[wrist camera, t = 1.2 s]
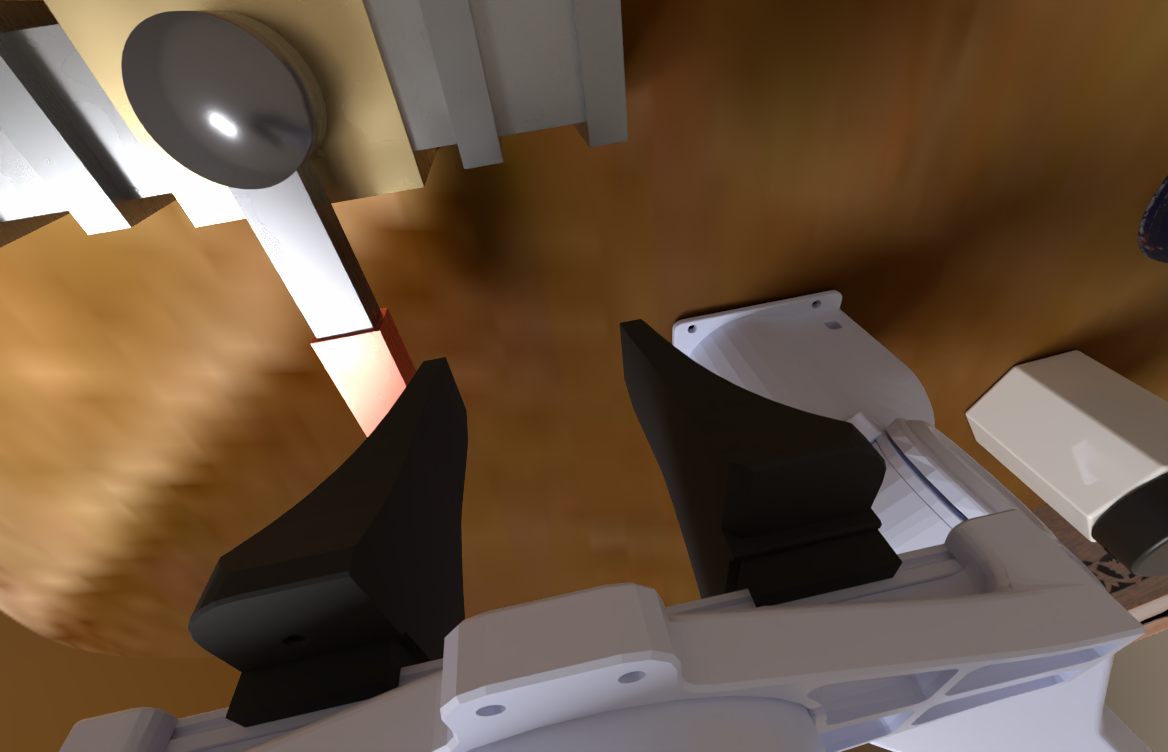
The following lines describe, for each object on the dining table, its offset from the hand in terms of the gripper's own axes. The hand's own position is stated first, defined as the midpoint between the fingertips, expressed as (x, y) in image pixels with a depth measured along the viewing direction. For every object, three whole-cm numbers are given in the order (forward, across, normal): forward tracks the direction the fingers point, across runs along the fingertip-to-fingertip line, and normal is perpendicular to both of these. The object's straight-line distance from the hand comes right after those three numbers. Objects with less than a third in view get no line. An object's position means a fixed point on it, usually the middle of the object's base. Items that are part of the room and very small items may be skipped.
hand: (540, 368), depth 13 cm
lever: (+5, +6, -2) cm, 8 cm away
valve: (+10, +6, -7) cm, 14 cm away
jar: (+10, -34, +19) cm, 40 cm away
